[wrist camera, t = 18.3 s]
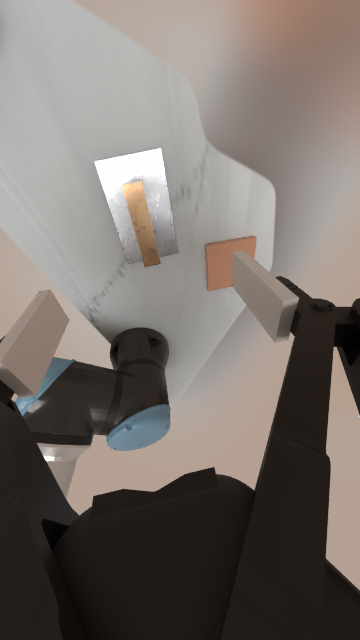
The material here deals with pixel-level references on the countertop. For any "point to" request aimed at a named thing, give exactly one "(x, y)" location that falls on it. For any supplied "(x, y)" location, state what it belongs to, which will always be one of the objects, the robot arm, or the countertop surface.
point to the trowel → (140, 205)
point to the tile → (225, 260)
